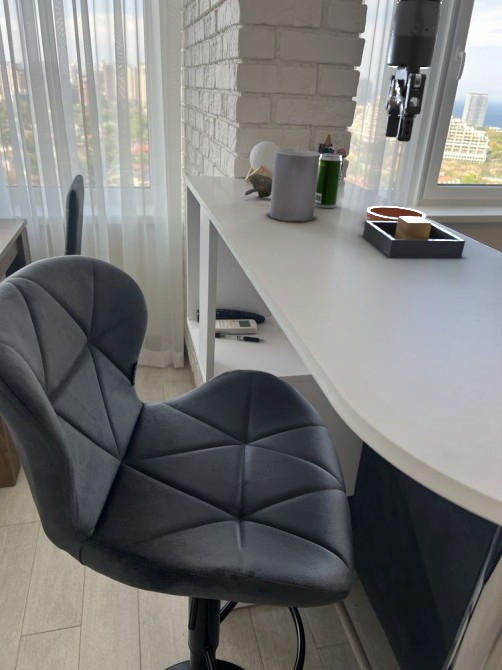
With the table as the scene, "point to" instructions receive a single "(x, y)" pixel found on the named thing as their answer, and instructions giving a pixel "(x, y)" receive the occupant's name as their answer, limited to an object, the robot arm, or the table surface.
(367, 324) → the table surface
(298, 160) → the pillar candle
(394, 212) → the plate
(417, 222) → the block
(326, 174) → the beer can
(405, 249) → the tray
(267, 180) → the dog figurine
